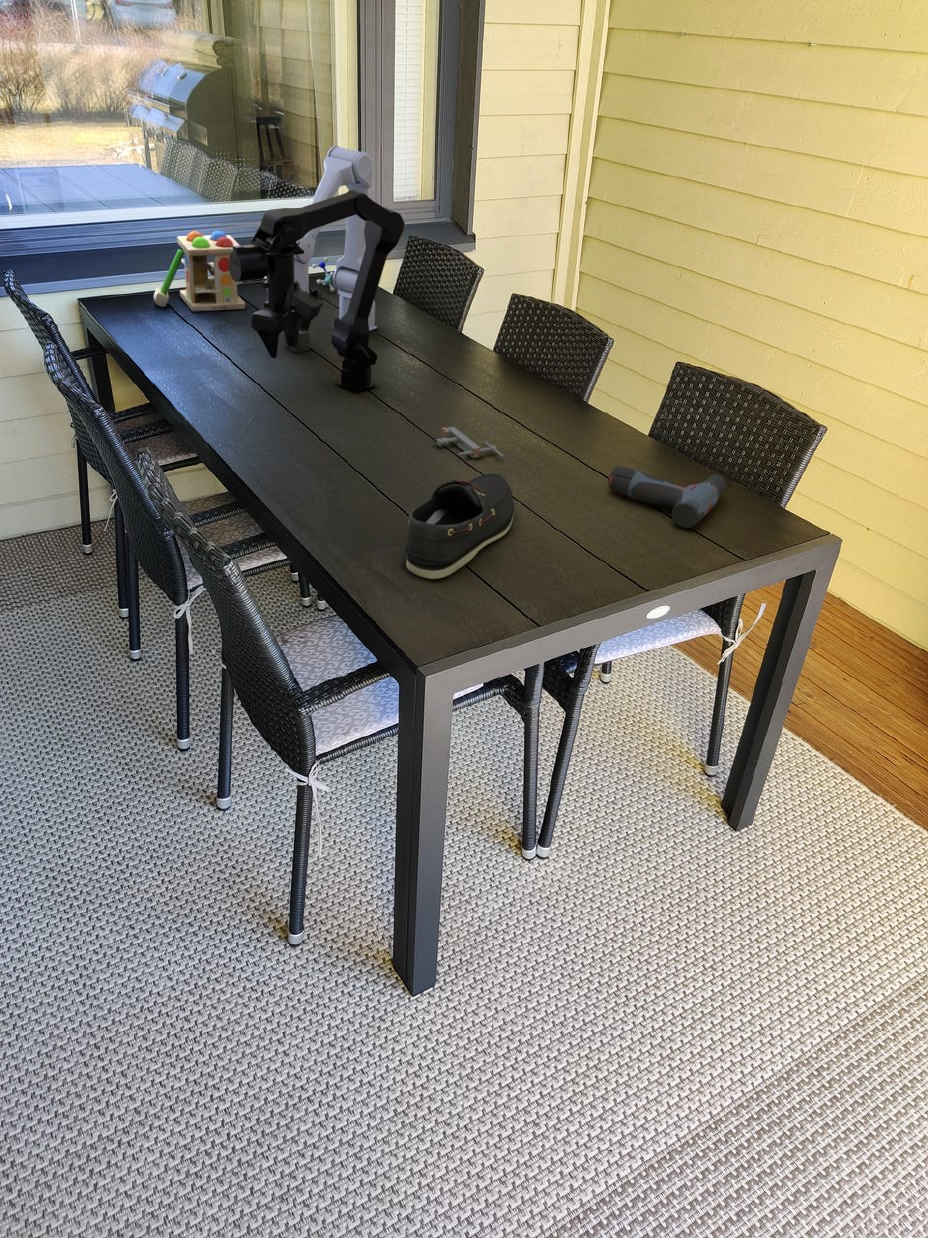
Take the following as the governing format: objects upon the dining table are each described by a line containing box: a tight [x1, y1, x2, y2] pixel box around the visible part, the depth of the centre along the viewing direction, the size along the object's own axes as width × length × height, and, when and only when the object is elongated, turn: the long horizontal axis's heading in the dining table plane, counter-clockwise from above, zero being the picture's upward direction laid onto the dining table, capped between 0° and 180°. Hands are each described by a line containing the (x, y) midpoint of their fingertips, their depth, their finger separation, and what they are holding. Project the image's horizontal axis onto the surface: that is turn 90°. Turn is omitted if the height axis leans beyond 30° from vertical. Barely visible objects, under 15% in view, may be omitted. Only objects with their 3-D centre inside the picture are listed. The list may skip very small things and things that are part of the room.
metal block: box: [284, 327, 310, 354], centre depth 242 cm, size 4×4×5 cm
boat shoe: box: [403, 472, 515, 580], centre depth 170 cm, size 13×33×10 cm, turn 147°
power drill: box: [607, 465, 727, 529], centre depth 189 cm, size 5×19×20 cm
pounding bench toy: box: [153, 230, 246, 312], centre depth 261 cm, size 23×14×18 cm, turn 116°
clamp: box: [436, 426, 507, 460], centre depth 201 cm, size 15×2×10 cm
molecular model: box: [311, 256, 336, 293], centre depth 286 cm, size 12×10×10 cm
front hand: (282, 350), depth 210 cm, fingers open, 9 cm apart
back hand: (297, 342), depth 243 cm, fingers closed on metal block, 6 cm apart
